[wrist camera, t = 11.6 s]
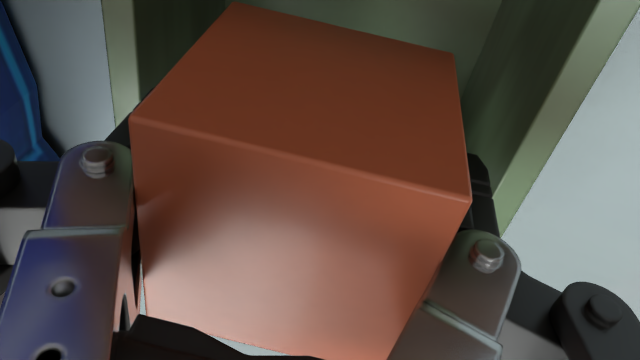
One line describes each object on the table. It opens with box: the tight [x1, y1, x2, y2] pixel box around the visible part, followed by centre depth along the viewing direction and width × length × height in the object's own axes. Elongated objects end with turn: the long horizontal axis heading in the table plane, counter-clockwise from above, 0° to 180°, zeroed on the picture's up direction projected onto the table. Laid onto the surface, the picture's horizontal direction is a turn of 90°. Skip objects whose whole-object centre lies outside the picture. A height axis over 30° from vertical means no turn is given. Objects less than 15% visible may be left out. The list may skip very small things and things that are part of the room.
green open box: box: [101, 0, 640, 238], centre depth 16 cm, size 20×12×8 cm, turn 170°
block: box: [128, 2, 473, 360], centre depth 11 cm, size 5×5×5 cm
